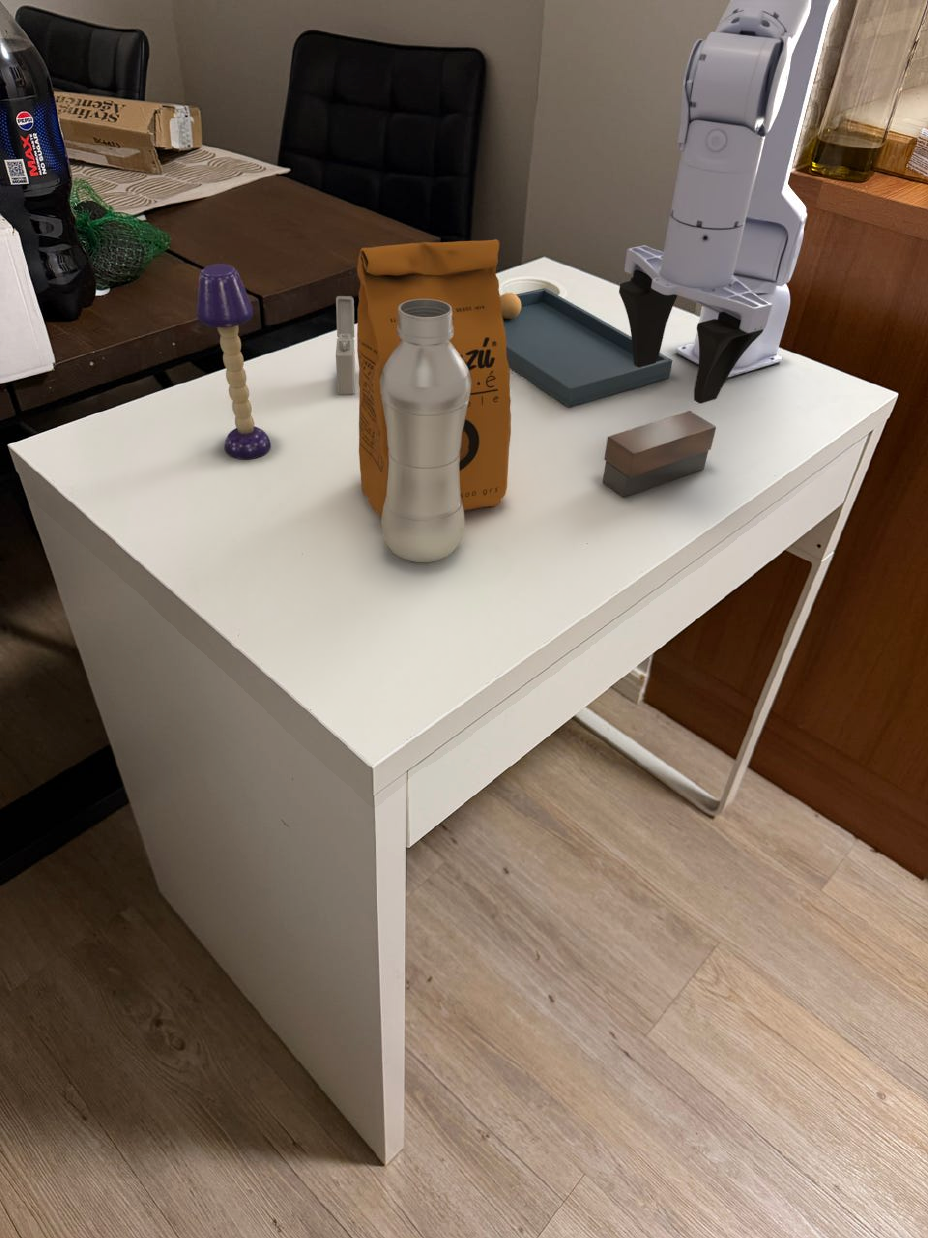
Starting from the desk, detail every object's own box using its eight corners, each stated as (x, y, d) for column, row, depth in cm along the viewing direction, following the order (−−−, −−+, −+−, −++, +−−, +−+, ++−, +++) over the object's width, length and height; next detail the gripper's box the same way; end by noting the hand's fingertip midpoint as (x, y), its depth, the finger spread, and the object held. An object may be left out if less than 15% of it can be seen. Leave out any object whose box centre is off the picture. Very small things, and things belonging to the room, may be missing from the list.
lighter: (354, 394, 95) (351, 319, 90) (337, 394, 95) (333, 319, 90) (356, 364, 101) (353, 291, 95) (340, 363, 100) (336, 291, 95)
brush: (680, 453, 89) (689, 410, 86) (706, 470, 87) (716, 426, 84) (600, 480, 84) (607, 436, 81) (625, 499, 82) (633, 454, 79)
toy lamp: (226, 464, 84) (199, 282, 73) (212, 440, 87) (184, 263, 76) (277, 453, 86) (257, 274, 75) (261, 430, 89) (240, 255, 78)
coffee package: (514, 520, 79) (538, 262, 65) (371, 534, 77) (362, 269, 62) (486, 460, 86) (502, 216, 72) (354, 472, 84) (343, 221, 69)
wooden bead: (529, 309, 109) (517, 320, 111) (520, 285, 109) (508, 296, 111) (509, 315, 107) (497, 325, 110) (499, 291, 107) (488, 302, 110)
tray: (543, 304, 116) (545, 287, 114) (669, 377, 101) (673, 359, 100) (448, 325, 109) (448, 308, 108) (567, 407, 95) (570, 388, 94)
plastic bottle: (379, 529, 77) (372, 291, 65) (459, 526, 78) (468, 290, 65) (383, 574, 72) (377, 326, 60) (469, 570, 73) (480, 325, 60)
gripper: (606, 197, 73) (585, 358, 82) (739, 255, 64) (699, 428, 73) (672, 186, 76) (644, 342, 85) (807, 240, 67) (761, 408, 76)
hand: (674, 381), depth 79 cm, fingers open, 7 cm apart
